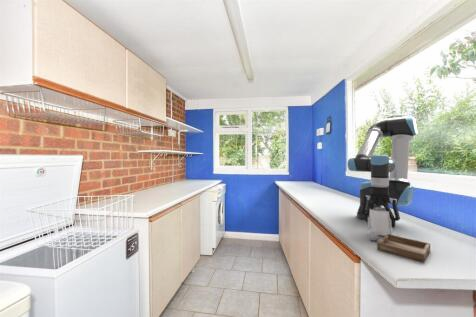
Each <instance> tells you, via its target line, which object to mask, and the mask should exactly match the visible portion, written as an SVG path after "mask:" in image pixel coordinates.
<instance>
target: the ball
mask: <svg viewBox="0 0 476 317" xmlns="http://www.w3.org/2000/svg"><path fill="white" fill-rule="evenodd" d="M367 236H368V239H369V240H370V241H372V242H375V241H377V240H378V239H379V235H377V233H375V232H372V231H370V232H368V234H367Z"/></svg>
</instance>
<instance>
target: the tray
mask: <svg viewBox="0 0 476 317" xmlns="http://www.w3.org/2000/svg"><path fill="white" fill-rule="evenodd" d="M376 247H377V249H376V250H377V251H381V252H384V253H388V254H390V255H395V256H398V257H402V258H405V259H410V260H413V261H417V262H420V263H425V262H426V260H427V258H428V256H429V254H430V252H431V243H429V242H425V241H420V240H418V239H411V238H407V237H402V236H398V235H394V234H392V235H390V234H389V233H388V234H387V235H385V236H384V237H382V238H381V239H380V240H379V241H378V242H377V246H376Z"/></svg>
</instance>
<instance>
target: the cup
mask: <svg viewBox="0 0 476 317" xmlns="http://www.w3.org/2000/svg"><path fill="white" fill-rule="evenodd" d="M369 216H370V222H371V232H375V233H377V235H378V236H384V237H385V236H386V235H387V234H389V221H390V220H391V219H390V216H389V211H386V209H385V208H384V207H382V208H381V207H374V208H373V210H371V209H370V212H369Z"/></svg>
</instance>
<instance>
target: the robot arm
mask: <svg viewBox="0 0 476 317" xmlns="http://www.w3.org/2000/svg"><path fill="white" fill-rule="evenodd" d="M365 135H366V137H365V138H364V140H363V142H362V144H361V146H360V147H359V149H358V152H357V154H356V156H355V157H351V158H348V159H347V168H348V170H349V171H350V172H362V173H363V172H364V173H365V172H367V173H370V180H369V181H362V182H361V183H360V184H359V207H358V209H357V212H356V217H357V218H358V219H361V220H365V223H367V230H369V231H370V230H372V228H371V222H370V216H369V212H370V209H371V210H373V208H374V207H381V208H385V209H386V211H389V216H390V219H391V220H390V221H389V232H388V234H390V235H394V229H395V228H396V221H397V222H398V221H400V219H401V217H400V213H399V210H398V209H399V208H398V206H399V207H400V206H402V207H403V206H404V207H407V206H410V204H411V203H412V201H413V198H414V190H415V189H414V186H412V185H411V182H410V181H409V180H408V175H409V174H408V173H409V158H410V157H409V156H410V147H411V146H410V145H411V141H412V140H413V139H414V136H417V135H418V125H417V122H416V119H415V117H414V116H413V115H411V116H408V115H407V116H401V117H400V116H399V117H390V118H384V119H383V118H382V119H380V120H378V121H376V122H375V123H373V124H372V125H371V126H370V127H369V128H368V129H367V131H366V134H365ZM387 137H388V138H389V140H390V141H391V155H390V157H389V155H388V154H374V153H375V151H376V148H377V147H378V144H379V142H380V141H381V140H382V139H383V138H387ZM390 205H392V209H393V212H392V209H391V207H390Z"/></svg>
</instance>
